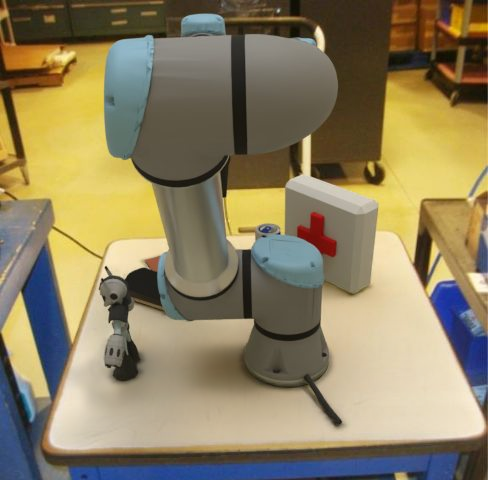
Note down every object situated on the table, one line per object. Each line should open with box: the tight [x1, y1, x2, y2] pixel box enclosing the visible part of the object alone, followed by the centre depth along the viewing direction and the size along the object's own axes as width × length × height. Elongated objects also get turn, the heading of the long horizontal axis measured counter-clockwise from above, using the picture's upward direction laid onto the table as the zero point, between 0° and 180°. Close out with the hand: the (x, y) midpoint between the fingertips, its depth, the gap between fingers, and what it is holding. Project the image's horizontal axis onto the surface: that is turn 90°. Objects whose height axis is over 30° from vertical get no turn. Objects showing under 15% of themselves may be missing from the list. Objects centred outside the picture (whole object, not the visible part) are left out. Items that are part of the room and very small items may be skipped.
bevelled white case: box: [284, 173, 379, 295], centre depth 130 cm, size 21×8×20 cm, turn 42°
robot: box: [98, 265, 141, 382], centre depth 106 cm, size 20×5×20 cm, turn 2°
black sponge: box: [124, 267, 164, 311], centre depth 129 cm, size 16×8×4 cm, turn 59°
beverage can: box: [254, 222, 282, 242], centre depth 127 cm, size 5×5×15 cm
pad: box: [144, 255, 161, 272], centre depth 144 cm, size 8×20×1 cm, turn 116°
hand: (215, 225), depth 126 cm, fingers closed
